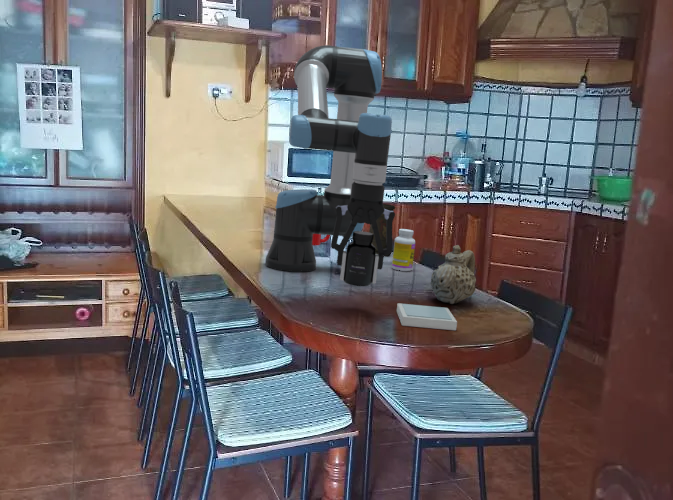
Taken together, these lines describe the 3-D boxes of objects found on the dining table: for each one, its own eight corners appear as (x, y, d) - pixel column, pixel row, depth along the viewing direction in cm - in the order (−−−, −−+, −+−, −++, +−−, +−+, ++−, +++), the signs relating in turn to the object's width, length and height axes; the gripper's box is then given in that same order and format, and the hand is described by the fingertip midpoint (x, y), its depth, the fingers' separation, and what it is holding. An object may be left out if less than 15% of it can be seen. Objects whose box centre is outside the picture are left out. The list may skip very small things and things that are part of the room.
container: (361, 254, 232) (367, 203, 229) (370, 251, 240) (375, 202, 238) (385, 257, 229) (391, 206, 226) (393, 254, 237) (399, 205, 234)
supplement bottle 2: (411, 272, 206) (415, 232, 204) (390, 269, 208) (394, 229, 205) (412, 269, 213) (417, 230, 211) (392, 266, 214) (397, 227, 212)
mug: (333, 245, 244) (335, 225, 243) (304, 245, 239) (306, 223, 238) (324, 242, 251) (326, 221, 250) (296, 241, 246) (297, 220, 245)
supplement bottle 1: (351, 287, 149) (357, 235, 146) (337, 279, 155) (343, 229, 152) (377, 286, 152) (383, 235, 150) (363, 279, 158) (368, 230, 156)
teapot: (456, 313, 160) (464, 252, 158) (413, 303, 166) (420, 244, 163) (486, 299, 178) (493, 245, 176) (446, 291, 184) (453, 238, 181)
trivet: (401, 325, 144) (403, 315, 144) (396, 311, 156) (397, 302, 155) (456, 330, 144) (457, 320, 144) (446, 316, 156) (447, 306, 156)
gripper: (325, 179, 145) (315, 280, 149) (413, 188, 145) (401, 288, 150) (325, 177, 152) (316, 273, 157) (409, 185, 153) (398, 281, 157)
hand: (357, 280), depth 153 cm, fingers closed on supplement bottle 1, 7 cm apart
